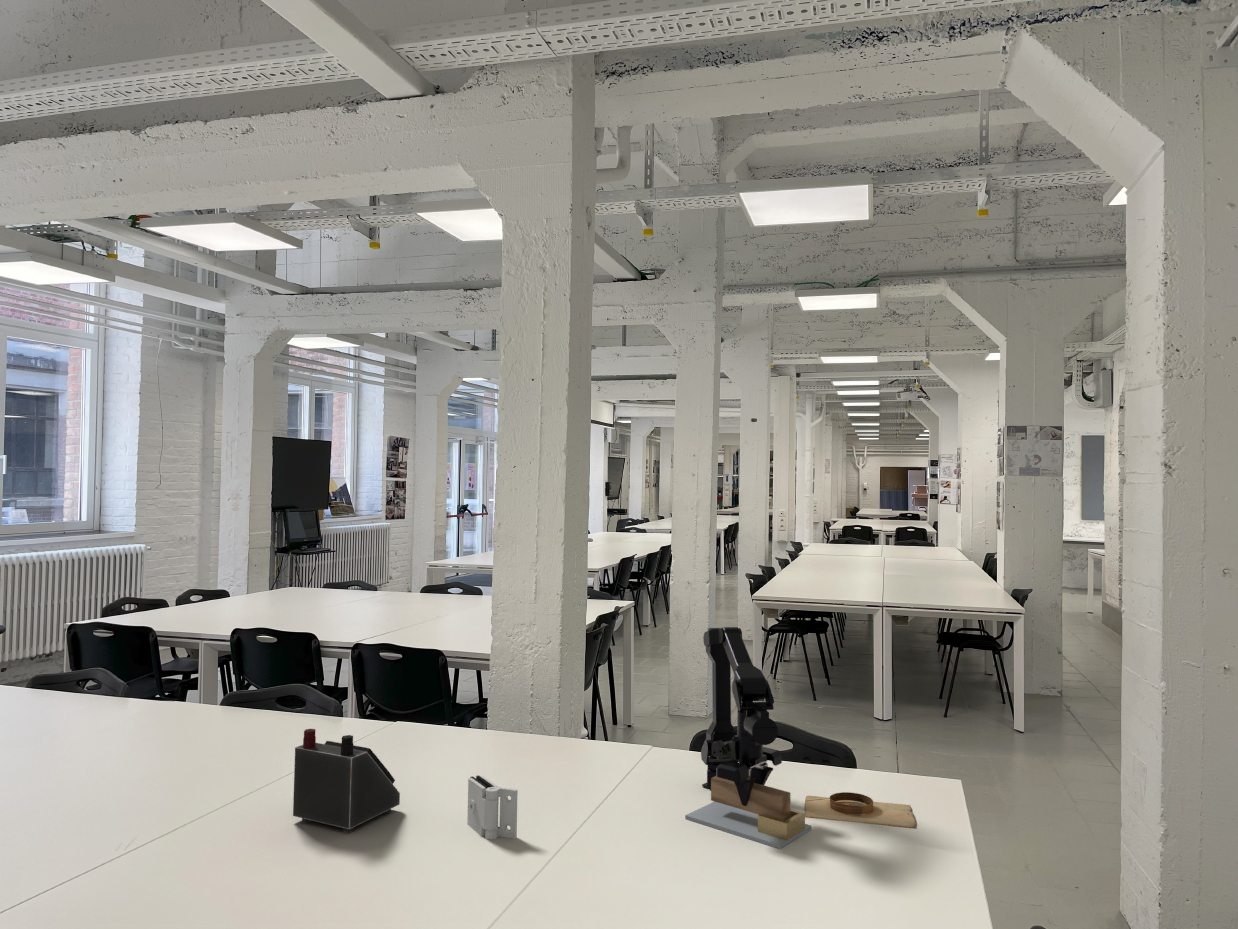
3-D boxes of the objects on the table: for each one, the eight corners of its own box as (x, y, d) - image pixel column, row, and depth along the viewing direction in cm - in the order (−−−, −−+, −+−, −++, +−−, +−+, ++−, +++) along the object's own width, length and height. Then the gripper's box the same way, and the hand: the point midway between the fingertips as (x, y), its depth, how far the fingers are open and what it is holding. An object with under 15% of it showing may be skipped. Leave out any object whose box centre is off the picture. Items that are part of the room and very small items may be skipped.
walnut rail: (720, 795, 193) (720, 773, 193) (790, 815, 181) (790, 792, 181) (710, 800, 190) (711, 778, 190) (781, 821, 178) (781, 797, 178)
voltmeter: (400, 810, 191) (402, 722, 192) (349, 836, 176) (351, 740, 177) (346, 798, 198) (348, 713, 198) (292, 822, 183) (295, 730, 184)
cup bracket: (776, 821, 185) (776, 805, 186) (804, 829, 181) (805, 813, 181) (757, 831, 179) (757, 815, 179) (786, 840, 175) (786, 823, 175)
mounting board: (719, 802, 199) (719, 799, 199) (811, 829, 183) (811, 825, 183) (685, 819, 188) (685, 815, 188) (779, 849, 172) (779, 845, 173)
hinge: (517, 838, 176) (518, 790, 177) (497, 845, 172) (498, 796, 173) (478, 819, 186) (479, 774, 186) (458, 826, 182) (459, 779, 182)
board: (801, 820, 190) (802, 806, 190) (802, 797, 205) (802, 784, 205) (917, 832, 184) (917, 817, 184) (909, 807, 199) (909, 793, 199)
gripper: (741, 717, 198) (740, 783, 198) (696, 733, 184) (695, 805, 184) (783, 726, 191) (782, 795, 191) (739, 743, 177) (738, 818, 176)
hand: (749, 802), depth 186 cm, fingers closed on walnut rail, 4 cm apart
